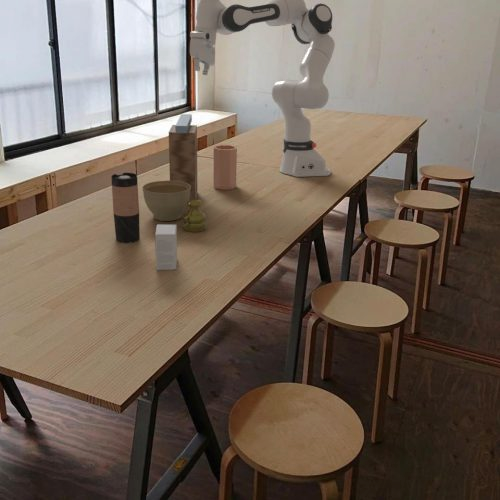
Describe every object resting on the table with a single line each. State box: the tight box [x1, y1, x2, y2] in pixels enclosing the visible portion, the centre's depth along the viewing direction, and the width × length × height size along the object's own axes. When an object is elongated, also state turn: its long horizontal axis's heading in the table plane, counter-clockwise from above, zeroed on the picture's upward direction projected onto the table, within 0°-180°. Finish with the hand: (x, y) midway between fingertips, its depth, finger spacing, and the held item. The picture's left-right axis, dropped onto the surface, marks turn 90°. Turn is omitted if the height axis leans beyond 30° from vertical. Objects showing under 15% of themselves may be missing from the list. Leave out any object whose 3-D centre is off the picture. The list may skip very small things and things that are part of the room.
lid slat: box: [175, 113, 193, 133], centre depth 215 cm, size 24×4×2 cm, turn 1°
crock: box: [213, 144, 238, 191], centre depth 234 cm, size 9×9×16 cm
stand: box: [168, 124, 198, 200], centre depth 217 cm, size 9×14×26 cm, turn 1°
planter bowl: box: [141, 180, 191, 222], centre depth 199 cm, size 16×16×11 cm
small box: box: [154, 224, 178, 271], centre depth 163 cm, size 8×6×10 cm
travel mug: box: [111, 172, 141, 244], centre depth 178 cm, size 8×8×20 cm
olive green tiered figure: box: [182, 198, 207, 233], centre depth 190 cm, size 7×7×10 cm
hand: (200, 73), depth 240 cm, fingers open, 8 cm apart
